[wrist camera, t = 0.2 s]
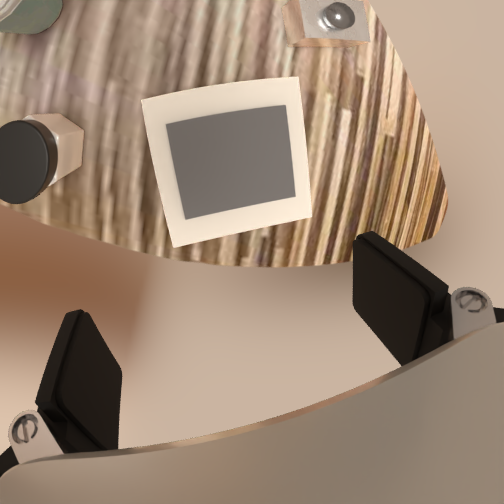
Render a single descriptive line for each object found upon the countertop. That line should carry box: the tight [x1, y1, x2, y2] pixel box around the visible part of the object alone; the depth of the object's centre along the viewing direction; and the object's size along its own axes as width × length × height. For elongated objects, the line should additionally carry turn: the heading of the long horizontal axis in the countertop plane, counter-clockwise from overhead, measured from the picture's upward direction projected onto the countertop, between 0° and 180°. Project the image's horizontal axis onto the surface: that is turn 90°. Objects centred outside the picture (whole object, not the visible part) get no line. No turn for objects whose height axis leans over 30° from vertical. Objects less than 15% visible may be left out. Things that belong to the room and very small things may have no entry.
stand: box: [141, 77, 312, 248], centre depth 34 cm, size 16×16×9 cm
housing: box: [281, 0, 370, 48], centre depth 29 cm, size 6×9×7 cm, turn 98°
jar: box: [0, 113, 84, 204], centre depth 26 cm, size 9×8×12 cm
